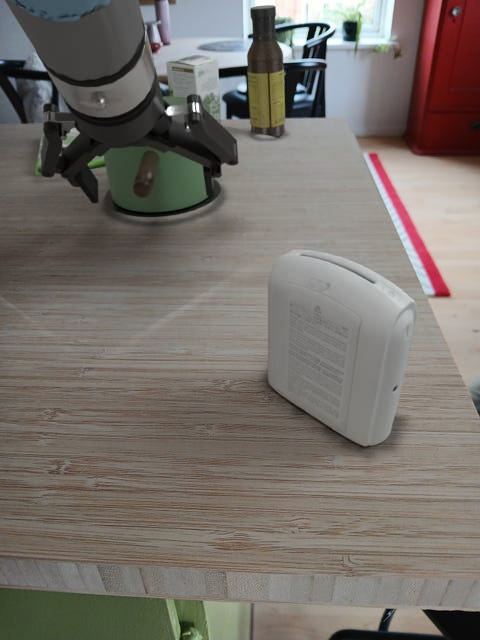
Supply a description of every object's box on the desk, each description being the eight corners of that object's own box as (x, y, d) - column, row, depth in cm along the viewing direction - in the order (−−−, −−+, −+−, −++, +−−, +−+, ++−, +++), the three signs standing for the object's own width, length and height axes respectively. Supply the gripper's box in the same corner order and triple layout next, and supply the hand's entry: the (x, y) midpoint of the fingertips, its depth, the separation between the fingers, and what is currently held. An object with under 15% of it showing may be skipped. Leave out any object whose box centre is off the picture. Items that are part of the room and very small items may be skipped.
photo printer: (404, 423, 37) (436, 278, 30) (371, 459, 35) (396, 310, 27) (294, 360, 43) (298, 226, 36) (259, 387, 41) (256, 249, 33)
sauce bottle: (282, 128, 95) (283, 2, 83) (287, 138, 90) (288, 6, 78) (248, 130, 95) (243, 5, 83) (250, 141, 90) (246, 9, 78)
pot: (118, 174, 77) (101, 87, 69) (215, 168, 77) (209, 81, 70) (86, 254, 57) (58, 144, 50) (216, 246, 57) (207, 136, 50)
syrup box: (196, 146, 89) (188, 53, 80) (224, 152, 86) (218, 56, 77) (175, 156, 85) (163, 60, 77) (202, 162, 82) (194, 63, 74)
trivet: (81, 209, 70) (79, 202, 69) (156, 170, 81) (155, 164, 80) (174, 234, 63) (173, 226, 62) (242, 187, 73) (242, 181, 73)
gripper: (-58, 132, 38) (46, 226, 59) (272, 112, 39) (260, 212, 60) (-57, 41, 39) (45, 164, 60) (265, 22, 40) (255, 151, 61)
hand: (152, 188), depth 60 cm, fingers open, 13 cm apart
